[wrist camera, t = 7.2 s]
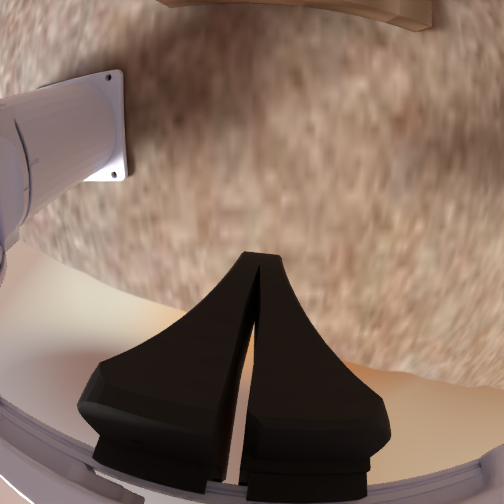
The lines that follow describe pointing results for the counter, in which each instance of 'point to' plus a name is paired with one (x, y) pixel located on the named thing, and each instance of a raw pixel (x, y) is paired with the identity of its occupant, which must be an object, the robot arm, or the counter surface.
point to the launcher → (351, 9)
